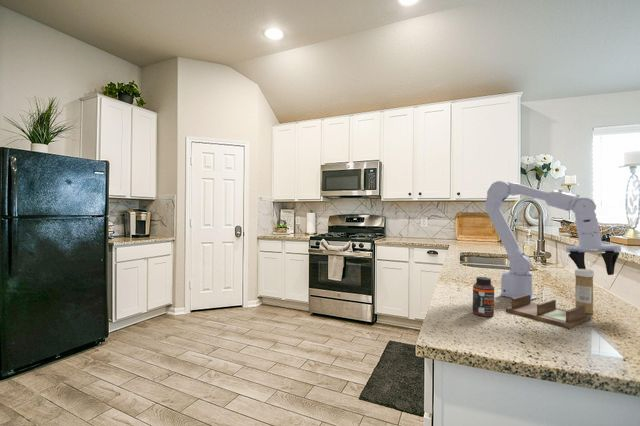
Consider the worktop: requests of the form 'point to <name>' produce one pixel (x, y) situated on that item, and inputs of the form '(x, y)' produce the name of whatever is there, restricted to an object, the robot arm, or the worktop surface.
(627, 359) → the worktop surface
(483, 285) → the supplement bottle
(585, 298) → the sprinkles bottle
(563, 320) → the slot rack
